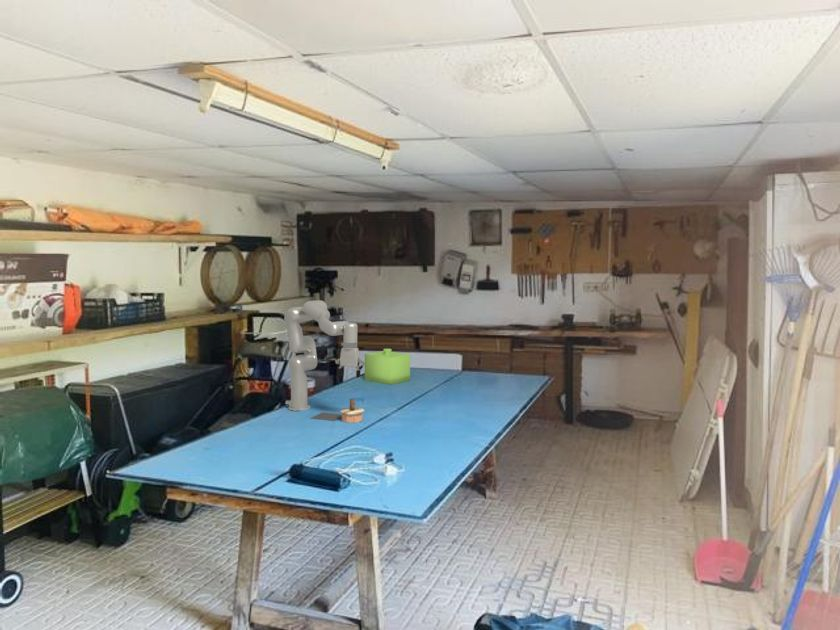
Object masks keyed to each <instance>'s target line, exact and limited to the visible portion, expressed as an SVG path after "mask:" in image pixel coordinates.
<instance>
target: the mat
mask: <svg viewBox="0 0 840 630" xmlns="http://www.w3.org/2000/svg"><path fill="white" fill-rule="evenodd" d="M309 419H311V420H320V421H329V422H336V421H337V420H339V419H342V413H331V412H320V413H318V414H316V415H314V416H312V417H310V418H309Z"/></svg>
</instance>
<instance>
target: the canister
mask: <svg viewBox="0 0 840 630" xmlns="http://www.w3.org/2000/svg"><path fill="white" fill-rule="evenodd" d="M382 350H383V351H382ZM382 350H381V351H375V352H370V353H365V354H364V362H365V365H364V381H366V382H372V383H378V384H384V385H390V386H392V385H397V384H400V383H405V382H409V381H411V354H410V353H405V352H404V353H402V352H396V351H393V350H392V348H383V349H382Z"/></svg>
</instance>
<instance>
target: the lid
mask: <svg viewBox="0 0 840 630" xmlns="http://www.w3.org/2000/svg"><path fill="white" fill-rule="evenodd" d="M355 405H356V399H355V398H350V399H349V407H344V408H341V409H340V410H339V411H340V413H339V414H346V415H357V414H362V415H363V414H364V413H365V409H364V408H362V407H356V406H355Z"/></svg>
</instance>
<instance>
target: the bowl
mask: <svg viewBox="0 0 840 630" xmlns="http://www.w3.org/2000/svg"><path fill="white" fill-rule="evenodd" d="M341 414H342V413H341ZM341 421H342V422H344V423H353V424H354V423H361V422H362V421H363V413H362V414H357V415H346V414H342V417H341Z"/></svg>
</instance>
